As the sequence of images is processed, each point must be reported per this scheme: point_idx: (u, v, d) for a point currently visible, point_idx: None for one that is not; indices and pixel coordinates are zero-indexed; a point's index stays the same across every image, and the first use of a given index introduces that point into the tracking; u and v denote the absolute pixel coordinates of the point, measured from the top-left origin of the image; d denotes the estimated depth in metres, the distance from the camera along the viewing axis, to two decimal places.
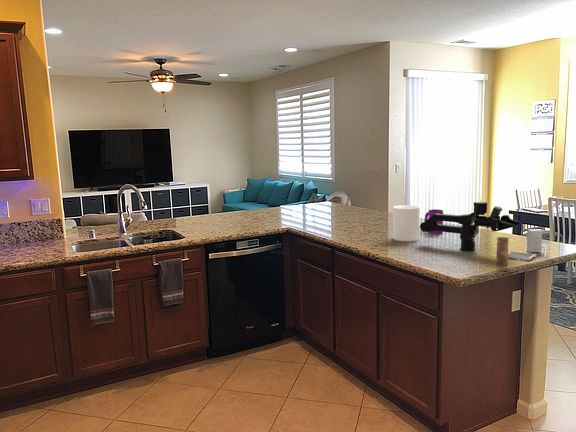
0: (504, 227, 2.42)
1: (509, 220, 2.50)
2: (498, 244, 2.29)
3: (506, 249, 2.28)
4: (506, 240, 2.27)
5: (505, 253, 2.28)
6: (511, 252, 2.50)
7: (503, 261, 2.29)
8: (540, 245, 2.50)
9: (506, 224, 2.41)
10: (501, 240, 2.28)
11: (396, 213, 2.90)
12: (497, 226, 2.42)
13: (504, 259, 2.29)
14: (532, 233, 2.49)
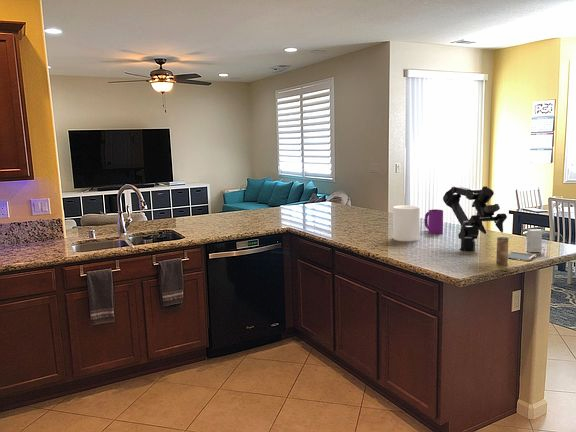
0: (479, 228, 2.40)
1: (499, 222, 2.41)
2: (498, 244, 2.29)
3: (506, 249, 2.28)
4: (506, 240, 2.27)
5: (505, 253, 2.28)
6: (511, 252, 2.50)
7: (503, 261, 2.29)
8: (540, 245, 2.50)
9: (481, 227, 2.38)
10: (501, 240, 2.28)
11: (396, 213, 2.90)
12: (473, 223, 2.41)
13: (504, 259, 2.29)
14: (532, 233, 2.49)
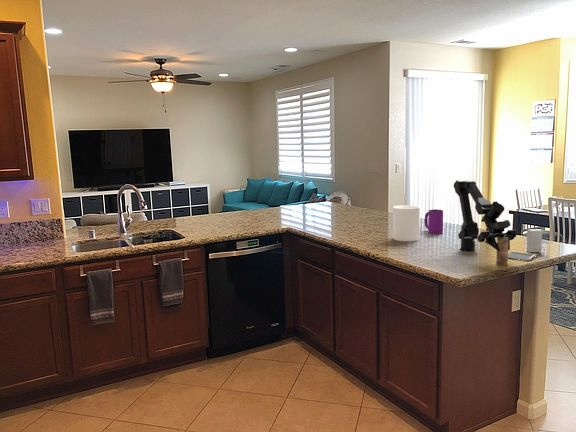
0: (492, 244, 2.32)
1: None
2: (498, 244, 2.29)
3: (506, 249, 2.28)
4: (506, 240, 2.27)
5: (505, 253, 2.28)
6: (511, 252, 2.50)
7: (504, 261, 2.29)
8: (540, 245, 2.50)
9: (494, 244, 2.30)
10: (501, 240, 2.28)
11: (396, 213, 2.90)
12: (486, 239, 2.33)
13: (504, 259, 2.29)
14: (532, 233, 2.49)
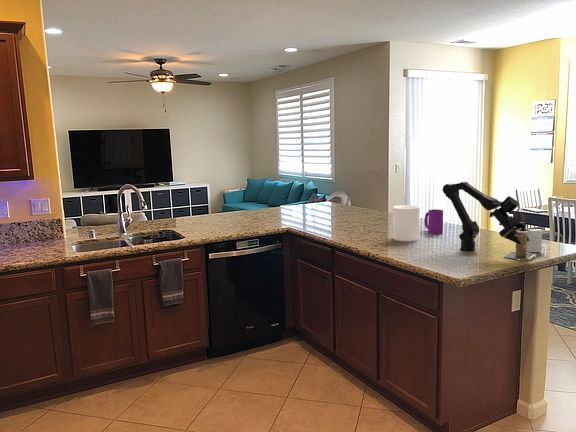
0: (511, 239, 2.37)
1: None
2: (520, 238, 2.37)
3: (526, 242, 2.38)
4: (526, 234, 2.37)
5: (526, 246, 2.38)
6: (511, 252, 2.50)
7: (525, 254, 2.38)
8: (540, 245, 2.50)
9: (515, 238, 2.36)
10: (523, 234, 2.36)
11: (396, 213, 2.90)
12: (506, 234, 2.36)
13: (525, 252, 2.38)
14: (532, 233, 2.49)
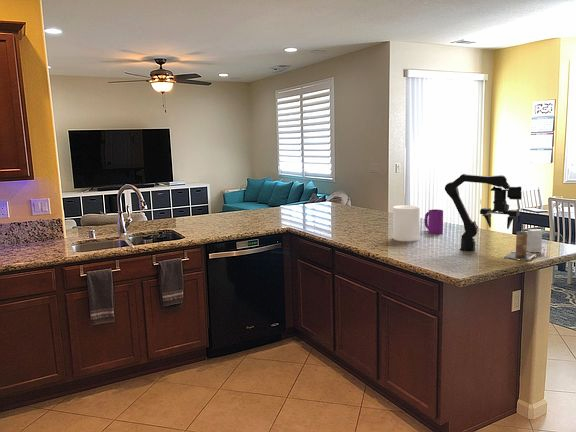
0: (510, 221, 2.48)
1: (490, 217, 2.57)
2: (520, 238, 2.37)
3: (526, 242, 2.38)
4: (527, 234, 2.37)
5: (526, 246, 2.38)
6: (511, 252, 2.50)
7: (525, 254, 2.38)
8: (540, 245, 2.50)
9: (510, 222, 2.50)
10: (523, 234, 2.36)
11: (396, 213, 2.90)
12: (514, 216, 2.47)
13: (525, 252, 2.38)
14: (532, 233, 2.49)
